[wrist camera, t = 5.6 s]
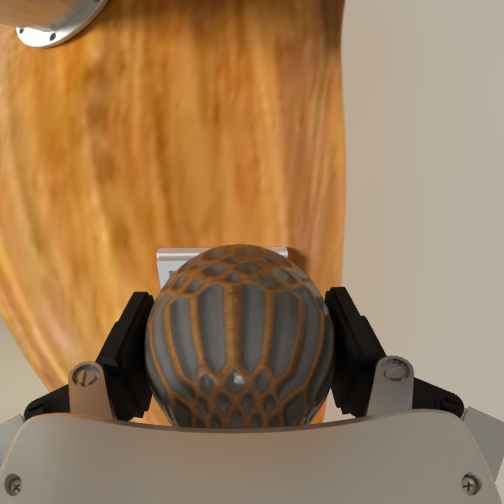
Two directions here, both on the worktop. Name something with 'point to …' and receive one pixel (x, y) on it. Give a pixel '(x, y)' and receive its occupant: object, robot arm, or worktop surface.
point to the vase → (239, 342)
